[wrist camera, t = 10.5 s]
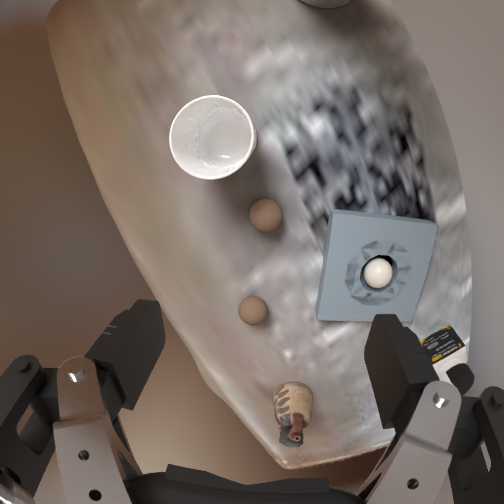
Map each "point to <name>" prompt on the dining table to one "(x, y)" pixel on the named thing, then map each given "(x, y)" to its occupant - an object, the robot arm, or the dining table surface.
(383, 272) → the ball
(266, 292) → the dining table surface
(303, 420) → the figurine
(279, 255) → the dining table surface
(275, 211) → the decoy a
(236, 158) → the white cup
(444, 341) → the medicine bottle
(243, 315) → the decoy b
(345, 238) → the blue-grey square plate
